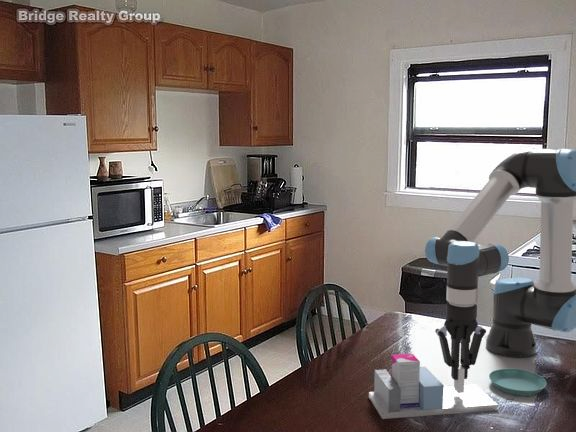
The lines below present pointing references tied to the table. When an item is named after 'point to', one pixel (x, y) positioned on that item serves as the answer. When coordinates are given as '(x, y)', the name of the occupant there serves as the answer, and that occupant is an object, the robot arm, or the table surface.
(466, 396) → the base
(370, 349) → the table surface
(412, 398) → the supplement box
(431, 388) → the block
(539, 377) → the saucer
